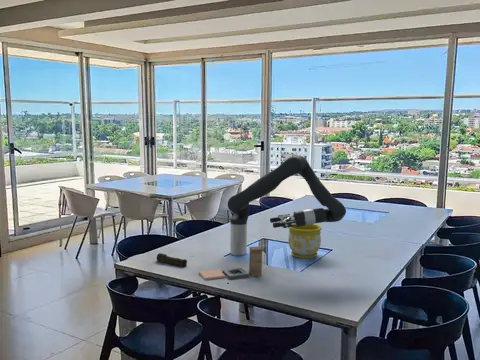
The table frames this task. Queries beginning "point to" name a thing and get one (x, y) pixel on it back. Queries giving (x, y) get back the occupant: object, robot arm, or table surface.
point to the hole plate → (234, 276)
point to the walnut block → (255, 261)
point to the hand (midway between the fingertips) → (271, 223)
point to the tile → (211, 274)
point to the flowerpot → (305, 240)
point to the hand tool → (171, 260)
